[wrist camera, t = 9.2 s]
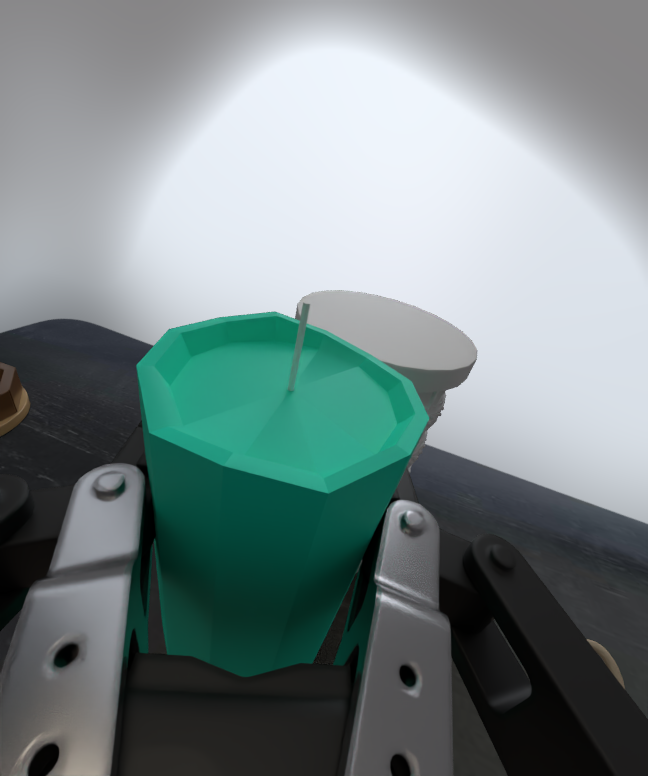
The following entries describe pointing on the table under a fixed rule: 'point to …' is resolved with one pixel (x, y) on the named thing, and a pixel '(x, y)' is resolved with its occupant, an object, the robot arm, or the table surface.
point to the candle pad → (11, 399)
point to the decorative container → (398, 343)
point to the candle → (266, 481)
